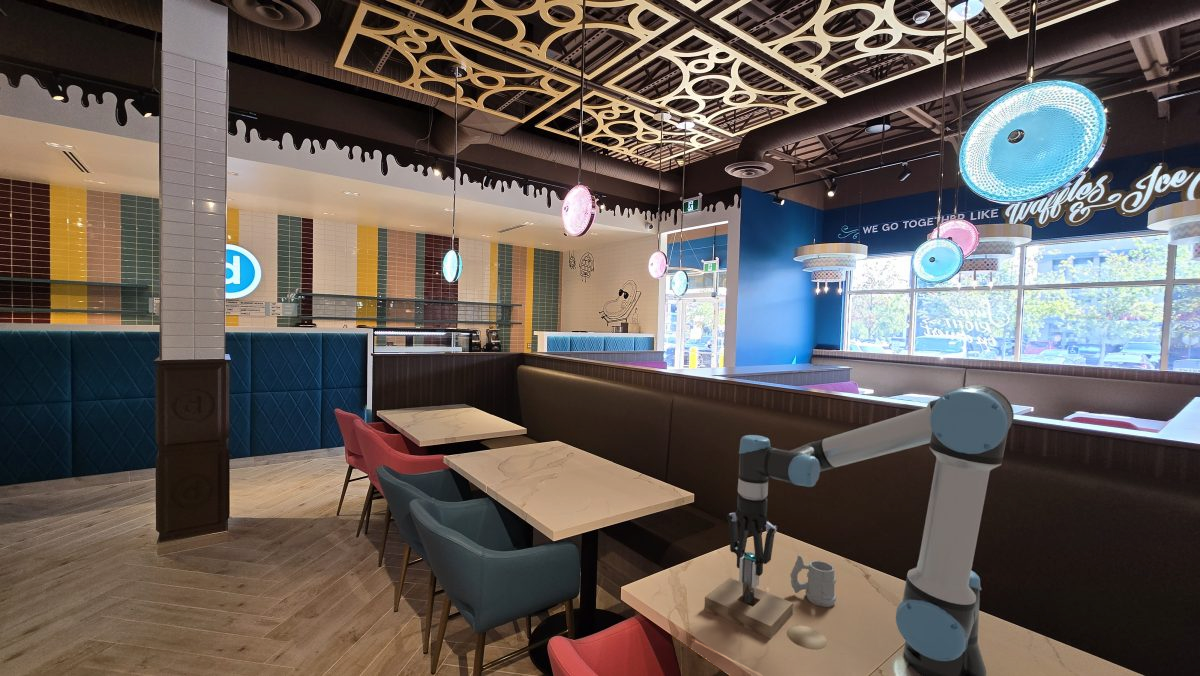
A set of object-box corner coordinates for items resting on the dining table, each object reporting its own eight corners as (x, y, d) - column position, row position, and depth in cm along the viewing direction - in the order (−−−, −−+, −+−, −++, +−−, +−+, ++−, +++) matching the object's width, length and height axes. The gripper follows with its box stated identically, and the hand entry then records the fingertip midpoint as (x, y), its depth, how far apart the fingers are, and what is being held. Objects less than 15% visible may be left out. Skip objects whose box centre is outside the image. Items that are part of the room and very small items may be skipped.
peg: (756, 599, 129) (758, 555, 129) (751, 604, 127) (753, 558, 126) (745, 595, 131) (747, 551, 131) (740, 599, 129) (742, 554, 128)
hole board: (792, 616, 128) (793, 602, 128) (770, 640, 118) (771, 626, 117) (729, 589, 140) (729, 577, 140) (704, 609, 130) (704, 596, 130)
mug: (838, 611, 131) (839, 567, 130) (790, 602, 134) (792, 559, 134) (833, 596, 138) (835, 554, 138) (788, 588, 142) (790, 547, 141)
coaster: (831, 638, 119) (831, 636, 119) (819, 656, 112) (819, 654, 112) (794, 622, 125) (794, 621, 125) (780, 638, 118) (780, 636, 118)
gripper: (788, 499, 125) (784, 589, 126) (731, 484, 136) (728, 567, 137) (776, 507, 120) (772, 601, 121) (718, 490, 131) (714, 577, 131)
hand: (748, 583), depth 129 cm, fingers closed on peg, 3 cm apart
